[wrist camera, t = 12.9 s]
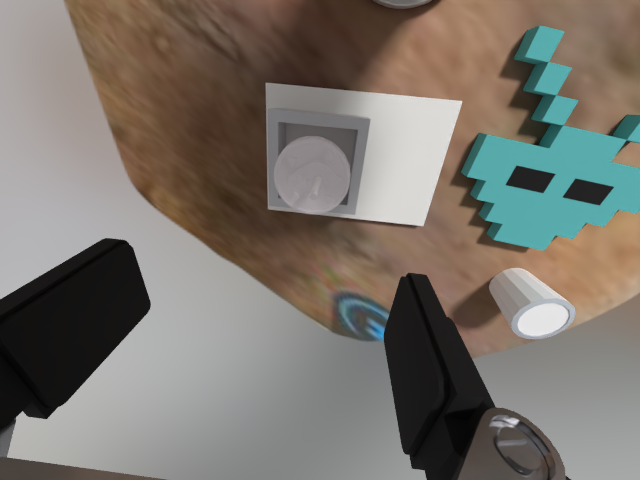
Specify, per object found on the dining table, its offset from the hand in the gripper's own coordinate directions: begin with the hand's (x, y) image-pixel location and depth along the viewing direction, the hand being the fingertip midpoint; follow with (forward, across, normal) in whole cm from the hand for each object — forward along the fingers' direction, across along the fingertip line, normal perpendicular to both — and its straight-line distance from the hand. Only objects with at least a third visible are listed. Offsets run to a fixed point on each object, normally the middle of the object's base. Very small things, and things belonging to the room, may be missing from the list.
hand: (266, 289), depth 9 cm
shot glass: (+24, -29, +15) cm, 41 cm away
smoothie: (+23, 0, 0) cm, 23 cm away
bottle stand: (+24, -4, 0) cm, 25 cm away
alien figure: (+25, -27, -2) cm, 37 cm away
